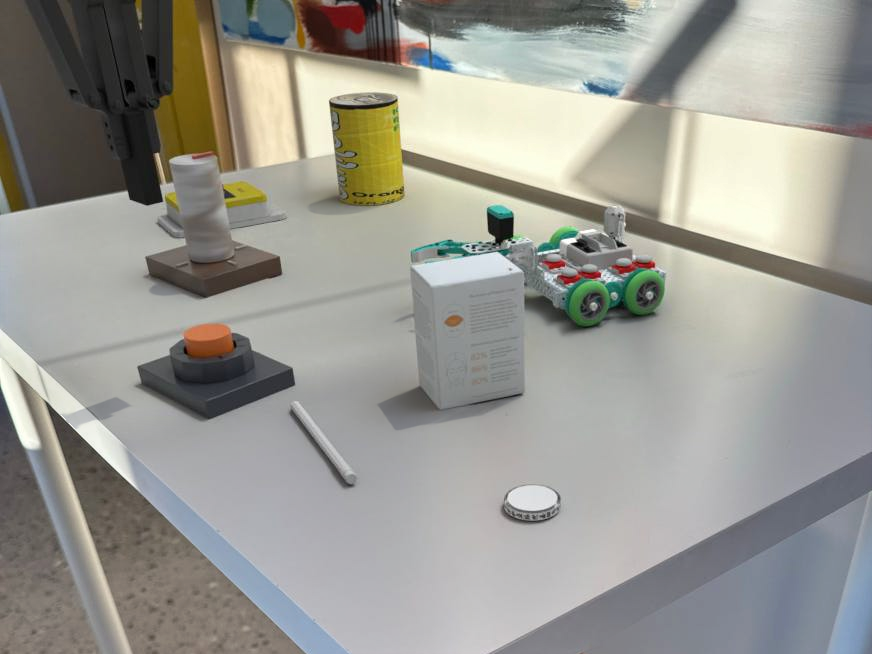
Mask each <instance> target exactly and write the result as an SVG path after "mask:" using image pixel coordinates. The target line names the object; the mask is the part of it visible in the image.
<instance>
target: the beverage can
mask: <svg viewBox="0 0 872 654" xmlns="http://www.w3.org/2000/svg"><path fill="white" fill-rule="evenodd" d="M328 105H329V115H330V123H331V124H330V125H331V132H332V133H331V134H332V142H333V150H334V158H335V167H336V169H335V170H336V177H337V187H338V194H339V195H338V196H339V201H341V202H342V203H345V204H348V205H352V206H353V205H354V206H380V205H386V204H391V203H395V202H399V201H400V200H402V199H404V198H405V181H404V168H403V167H404V166H403V154H402V153H403V152H402V141H401V140H402V139H401V127H400V126H401V125H400V113H399V112H400V111H399V99H398V96H397V94H394V93H388V92H373V91H371V92H370V91H369V92H353V93H346V94H340V95H336V96H334V97H332V98H331V97H330V98H329V100H328Z"/></svg>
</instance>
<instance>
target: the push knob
mask: <svg viewBox="0 0 872 654" xmlns="http://www.w3.org/2000/svg"><path fill="white" fill-rule="evenodd" d="M231 333H232V330H231V328H230V327H229V325H226V324H222V323H214V322H213V323H202V324H198V325H195V326H191V327H189V328H188V329H186V330H185V331H184V332H183V339H184V340H185V345H186V349H187V354H188V355H189V356H191V357H198V358H208V357H215V356H220V355H223V354H226V353H229V352H231V351H233V350H234V345H233V340H232V334H231Z"/></svg>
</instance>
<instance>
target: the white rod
mask: <svg viewBox="0 0 872 654" xmlns="http://www.w3.org/2000/svg"><path fill="white" fill-rule="evenodd" d="M289 406H290V409H291V410H292V411H293V413H294V414H295V416H296V417H297V418H298V419H299V421H300V422H301V423H302V425H303V426H304V427H305V428H306V430H307V431H308V433H309V434H310V435H311V436H312V438H313V439H314V440H315V442H316V443H317V445H318V446H319V447H320V448H321V450H322V451H323V452H324V454H325V455H326V457H328V459H329V460H330V461H331V463H332V464H333V465H334V467H335V469H336V470H337V471H338V472H339V474H340V475H341V477H342V478H343V480H344V481H345V482H346V483H347V484H349V485H353V484H354V483H356V481H357V480H358V476H357V474H356V473H355V472H354V470H353V469H352V468H351V466H350V465H348V463H347V462H346V461H345V460H344V458H343V457H342V455H340V453H339V452H338V450H337V449H336V448H335V447H334V446H333V444H332V443H331V442H330V440H329V439H328V438H327V437H326V435H325V434H324V433H323V431H322V430H321V429H320V428H319V426H318V425H317V424H316V423H315V421H314V420H313V418H312V417H311V416H310V415H309V413H308V412H307V411H306V410H305V409H304V407H303V406H302V405H301V403H300V402H299V401H297V400H294V401H291V403H290V405H289Z"/></svg>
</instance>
